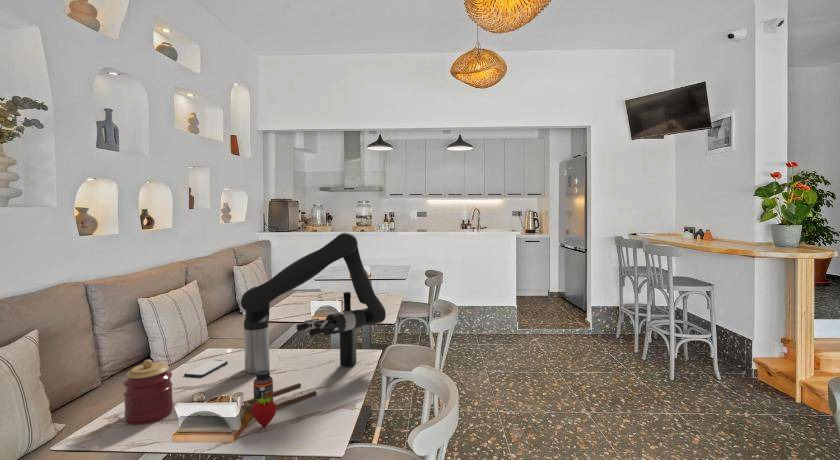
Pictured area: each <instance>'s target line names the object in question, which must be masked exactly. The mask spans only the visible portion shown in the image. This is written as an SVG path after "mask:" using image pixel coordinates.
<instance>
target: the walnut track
mask: <svg viewBox="0 0 840 460" xmlns="http://www.w3.org/2000/svg"><path fill="white" fill-rule="evenodd" d="M301 387H302V383H301V382H298V383H295V384H293V385H289V386H286V387H283V388H280V389H277V390H273V397H275V396H278V395H281V394H284V393H287V392H290V391H293V390H296V389H298V388H301ZM315 396H317V391H316V390H312V391H310V392H306V393H303V394H301V395H300V396H296V397H293V398H290V399H288V400H284V401H282V402H280V403H277V404H276V403H275V404H276V408H277V409H276V411H277V410H279V409H282V408H284V407H288V406H291V405H292V404H296V403H298V402H301V401H303V400H306V399H309V398H312V397H315ZM242 402H243V403H244V406H243V408H245V409H247V410H248V411H250V412H251V410H252V406H253V404H254V397H252V398H250V399H247V400H245V401H242Z"/></svg>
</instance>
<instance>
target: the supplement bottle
mask: <svg viewBox="0 0 840 460" xmlns="http://www.w3.org/2000/svg"><path fill="white" fill-rule="evenodd" d="M273 392H274V379H273V377H272V376H271V374H270V370H269V369H268V370H261V371H258V372H257V373H256V378H255V379H254V380H253V398H254V403H255V402H257V400H256V399H261V398H264V399H265V400H266V398H268V397H271V398H270V399H272V400H273V401H274V396H273ZM265 395H266V397H265ZM254 403H253V404H254Z"/></svg>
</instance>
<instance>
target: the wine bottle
mask: <svg viewBox="0 0 840 460" xmlns="http://www.w3.org/2000/svg"><path fill="white" fill-rule="evenodd" d="M351 294H352V293H351V292H350V291H345V292H343V297H342V298H343V310H342V312H344V311H353V310H352V307H351V305H352V303H351V298H352V295H351ZM355 364H357V328H355V329H351V330H348V331H345V332H341V333H339V365H340V366H341V367H349V368H350V367H354V366H355Z"/></svg>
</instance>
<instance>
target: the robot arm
mask: <svg viewBox="0 0 840 460" xmlns="http://www.w3.org/2000/svg"><path fill="white" fill-rule="evenodd" d="M341 259H343V260H344V262H345V264H346V266H347V269H348V272H349V275H350V279H351V283H352V286H353V289H354V292H355V294H356V297H357V300H358V301H359V303H360V304H362V305H365V306H366V308H361V309H354V310H352V311H344V312H343V311H341V312H334V313H329V314H328V315H327V316H326V317H325V319H324V318H322V319H319V318H314V319H307V320H304V322H303V323H299V324H296V330H297V332H300V331H304V330H309V331H308V332H309V333H308V334H309V336H311V337H312V336H316V335H317V336H318V335H324V336H328V335H335V334H340V333H341V332H345V331H348V330H351V329H355V328H356V329H358V328H361V327H364V326H368V325H376V324H381V323H383V322H384V321H385V319H386V315H387V314H386V309H385V307H384V304H383V303H382V302H381V301H380V299H379V297H378V296H377V294H375V291H374V288H373V286H372V284H371V281H370V278H369V276H368V274H367V272H366V269H365V267H364V265H363V262H362V258H361V256H360V251H359V245H358V239H357V237H356V236H355V234H352V233H349V232H342V233H340V234H337V236H336V237H335V238H333V239H332V240H330V241H329V242H328V243H326V244H325V245H324V246H322V247H321V248H320V249H317V250H315V251H313V252H311V253H308V254H307V255H305V256H302V257H301V258H298V259H297V260H296V261H294V262H292V263H290V264H289V265H287V266H285V268H283V269H281V270H280V271H279V272H278V273H277V274H276V275H274V276H273V277H271V278H270V279H269V280H267V281H265V282H264V283H262V284H259V285H258V286H253V287H251V288H249V289H247V290H246V291H245V292H244V293H243V294H242V297H241V299H240V306H241V308H242V309H243V310H244V311H245V317H244V320H243V337H244V339H243V341H244V342H243V343H244V348H243V349H244V370H245V371H244V372H245V373H247V374H257V372H258V371H261V370H269V369H270V334H269V333H270V331H269V329H270V328H269V323H270V322H269V320H270V303H271V302H273V301H274V300H275V299H277V298H278V297H281V296H282V295H284V294H287V293H288V292H290V291H291V290H294V289H296V288H298V287H300V286H301V285H303V284H305V283H306V282H308V281H309V280H311V279H313V278H314V277H315V276H317V275H319V274H320V273H321V272H322V271H324V270H325V268H327V267H328V266H330V265H331V264H333V263H334V262H336V261H338V260H339V261H340V260H341Z"/></svg>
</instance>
